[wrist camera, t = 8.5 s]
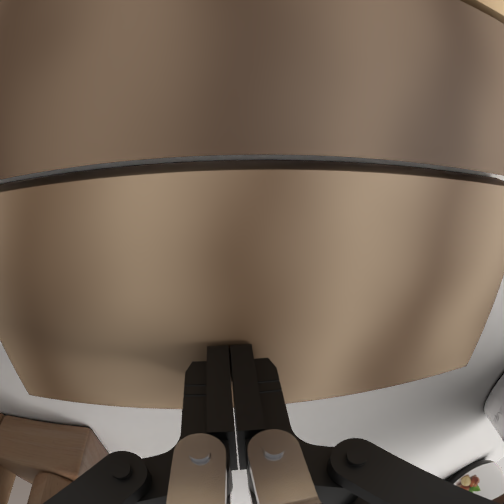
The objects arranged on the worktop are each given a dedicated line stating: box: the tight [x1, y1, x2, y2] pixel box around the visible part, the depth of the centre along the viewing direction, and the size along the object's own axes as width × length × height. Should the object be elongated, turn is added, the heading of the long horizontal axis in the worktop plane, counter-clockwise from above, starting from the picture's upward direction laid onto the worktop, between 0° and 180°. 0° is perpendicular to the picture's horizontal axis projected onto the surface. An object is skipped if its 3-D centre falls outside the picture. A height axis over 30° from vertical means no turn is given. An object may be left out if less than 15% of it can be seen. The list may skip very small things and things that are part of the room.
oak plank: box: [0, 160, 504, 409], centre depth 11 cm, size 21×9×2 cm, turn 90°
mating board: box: [0, 0, 504, 179], centre depth 8 cm, size 22×6×2 cm, turn 90°
